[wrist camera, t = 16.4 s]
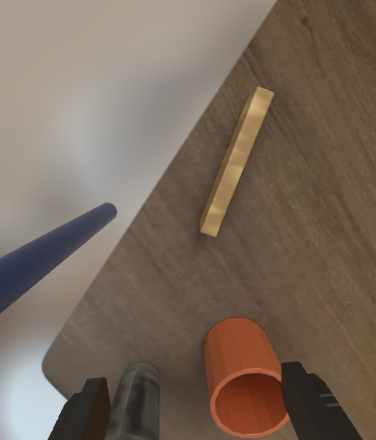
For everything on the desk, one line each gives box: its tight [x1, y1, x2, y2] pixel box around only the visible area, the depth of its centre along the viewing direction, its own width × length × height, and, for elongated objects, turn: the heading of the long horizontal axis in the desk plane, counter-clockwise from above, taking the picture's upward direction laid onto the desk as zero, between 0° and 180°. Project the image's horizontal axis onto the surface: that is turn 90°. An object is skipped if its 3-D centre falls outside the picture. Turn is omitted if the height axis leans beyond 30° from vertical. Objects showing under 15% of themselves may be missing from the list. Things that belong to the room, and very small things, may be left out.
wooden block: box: [199, 87, 274, 237], centre depth 26 cm, size 2×4×14 cm
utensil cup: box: [204, 318, 289, 439], centre depth 28 cm, size 8×8×8 cm
